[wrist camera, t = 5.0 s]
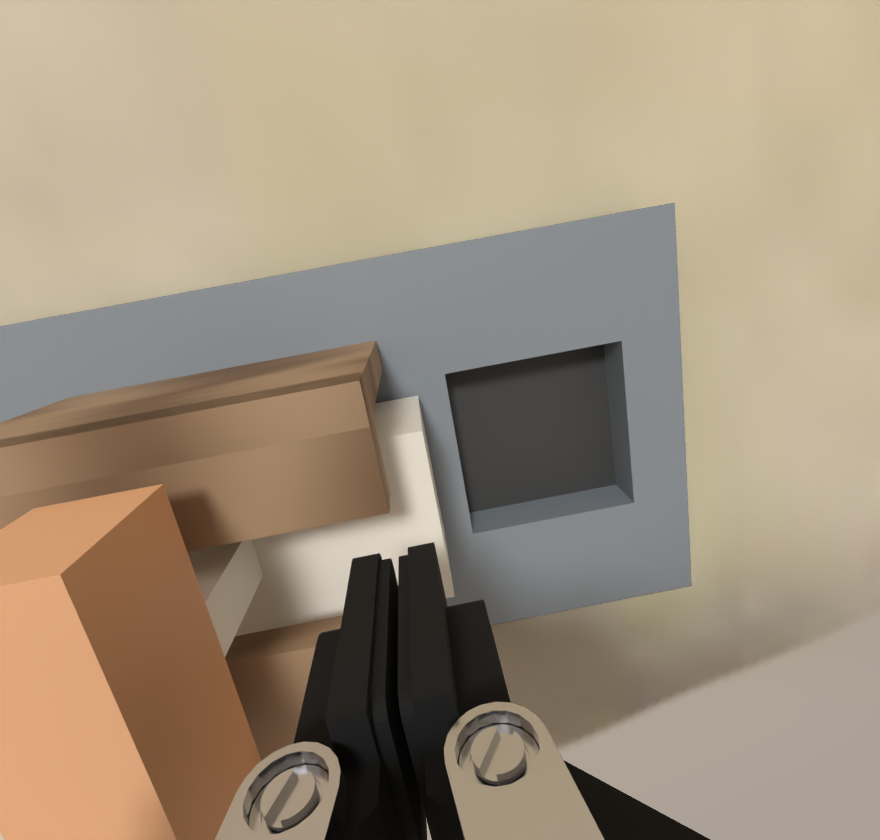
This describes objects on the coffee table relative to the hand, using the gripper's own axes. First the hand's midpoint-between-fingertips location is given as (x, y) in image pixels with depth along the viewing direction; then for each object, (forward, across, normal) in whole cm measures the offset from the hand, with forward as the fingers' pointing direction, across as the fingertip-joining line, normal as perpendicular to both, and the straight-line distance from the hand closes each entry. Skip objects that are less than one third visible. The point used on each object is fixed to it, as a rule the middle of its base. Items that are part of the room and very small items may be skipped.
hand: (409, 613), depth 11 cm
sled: (+8, +5, 0) cm, 9 cm away
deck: (+10, +5, 0) cm, 11 cm away
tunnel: (+8, +5, 0) cm, 9 cm away
